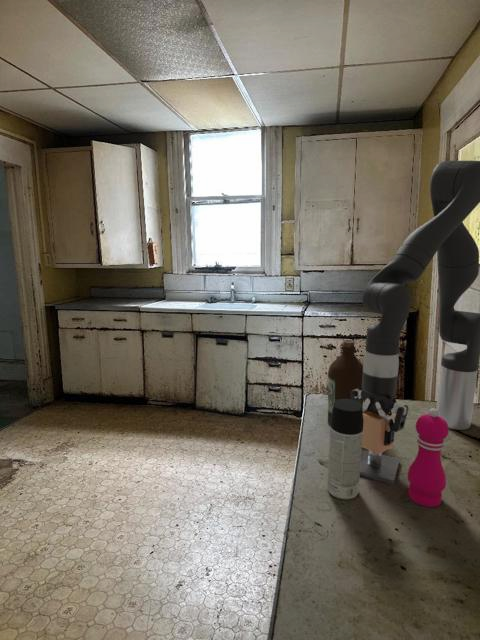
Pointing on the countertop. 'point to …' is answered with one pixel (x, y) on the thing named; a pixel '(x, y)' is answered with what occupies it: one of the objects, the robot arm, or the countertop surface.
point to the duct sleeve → (374, 433)
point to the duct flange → (378, 466)
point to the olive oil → (344, 376)
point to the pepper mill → (428, 460)
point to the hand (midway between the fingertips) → (374, 438)
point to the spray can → (345, 448)
